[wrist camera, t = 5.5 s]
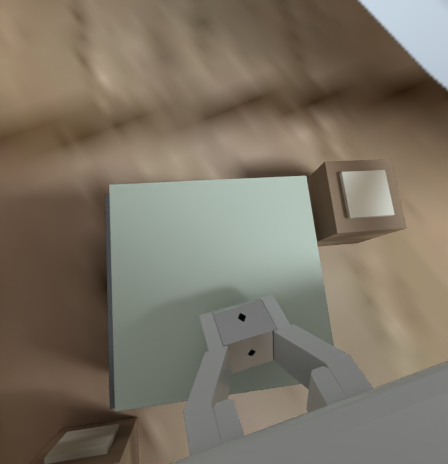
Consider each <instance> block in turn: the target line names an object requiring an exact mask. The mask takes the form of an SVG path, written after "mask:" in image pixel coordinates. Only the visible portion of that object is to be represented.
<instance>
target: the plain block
mask: <svg viewBox="0 0 448 464" xmlns="http://www.w3.org/2000/svg"><path fill="white" fill-rule="evenodd" d="M109 195H110V234H111V274H112V313H113V353H114V392H115V412H117V411H124V410H130V409H137V408H144V407H150V406H157V405H163V404H170V403H177V402H183V401H188V399H189V396H190V393H191V390H192V387H193V385H194V382H195V379H196V376H197V373H198V371H199V368H200V365H201V362H202V359H203V356H204V354H205V352H207V349H206V345H205V341H204V336H203V332H202V327H201V323H200V318H199V315H201V314H205V313H208V312H212V311H215V310H219V309H223V308H227V307H231V306H234V305H236V304H240V303H243V302H246V301H250V300H253V299H256V298H260V297H264V296H267V295H271V294H272V295H273V296H274V298H275V299H276V301H277V303H278V304H279V306H280V308H281V310H282V311H283V313H284V315H285V316H286V318H287V320H288V321H289V323H290V325H296V326H298V327H300V328H302V329H303V330H305V331H307V332H309V333H311V334H312V335H314V336H316V337H318V338H319V339H321V340H323V341H325V342H327V343H328V344H330V345H332V346H334V344H333V338H332V332H331V326H330V320H329V313H328V307H327V301H326V295H325V289H324V283H323V276H322V270H321V264H320V258H319V252H318V245H317V239H316V233H315V227H314V221H313V215H312V208H311V202H310V196H309V190H308V184H307V177H306V176H288V177H266V178H244V179H222V180H200V181H179V182H157V183H135V184H113V185H109ZM296 384H301V383H300V382H299V381H298V380H296V379H295V378H294V377H293V376H291V375H290V374H289V373H287V372H286V371H285V370H284V369H282V368H281V367H280V366H279V365H277V364H276V363H275V362H274V361H271V362H268V363H264V364H261V365H258V366H254V367H251V368H248V369H246V370H243V371H240V372H237V373H235V374H232V380H231V385H230V390H229V394H228V395H230V394H236V393H243V392H249V391H256V390H263V389H269V388H276V387H283V386H289V385H296Z"/></svg>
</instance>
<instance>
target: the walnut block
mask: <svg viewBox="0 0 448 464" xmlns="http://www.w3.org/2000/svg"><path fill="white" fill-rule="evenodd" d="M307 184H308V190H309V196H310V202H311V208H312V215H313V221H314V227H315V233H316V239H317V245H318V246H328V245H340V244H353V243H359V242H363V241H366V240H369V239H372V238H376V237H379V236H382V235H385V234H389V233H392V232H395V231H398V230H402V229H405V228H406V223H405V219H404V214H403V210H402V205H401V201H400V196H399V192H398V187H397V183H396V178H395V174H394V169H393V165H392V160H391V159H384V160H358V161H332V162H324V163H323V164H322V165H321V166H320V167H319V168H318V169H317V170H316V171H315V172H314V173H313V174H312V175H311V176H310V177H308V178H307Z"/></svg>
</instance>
